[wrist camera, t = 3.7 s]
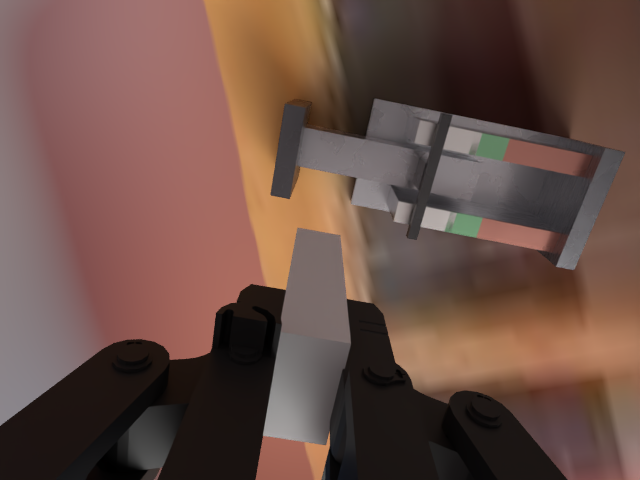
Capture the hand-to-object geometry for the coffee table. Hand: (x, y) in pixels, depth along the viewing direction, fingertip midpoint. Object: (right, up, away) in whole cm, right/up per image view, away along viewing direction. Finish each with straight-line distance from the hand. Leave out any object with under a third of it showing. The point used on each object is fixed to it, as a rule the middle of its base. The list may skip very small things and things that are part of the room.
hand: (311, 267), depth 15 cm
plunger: (+5, +8, +22) cm, 24 cm away
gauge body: (+12, +7, +23) cm, 26 cm away
